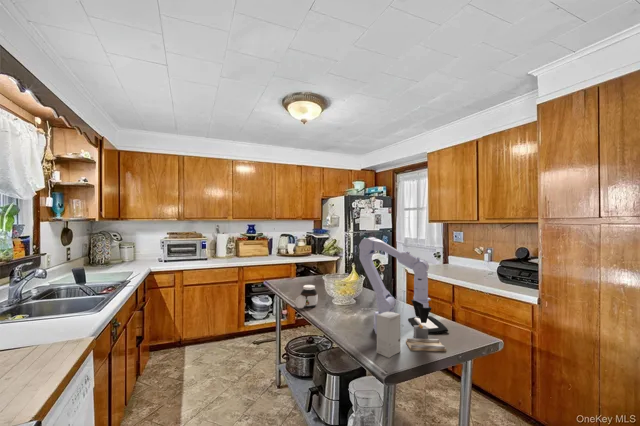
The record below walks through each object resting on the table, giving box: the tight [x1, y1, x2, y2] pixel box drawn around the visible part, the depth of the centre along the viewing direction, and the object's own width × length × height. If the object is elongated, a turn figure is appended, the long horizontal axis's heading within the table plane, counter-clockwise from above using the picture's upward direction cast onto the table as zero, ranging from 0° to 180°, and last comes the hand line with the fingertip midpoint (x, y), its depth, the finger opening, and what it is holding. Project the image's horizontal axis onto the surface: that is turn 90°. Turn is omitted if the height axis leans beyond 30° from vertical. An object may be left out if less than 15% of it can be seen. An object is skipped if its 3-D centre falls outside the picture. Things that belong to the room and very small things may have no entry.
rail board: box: [405, 337, 447, 352], centre depth 118 cm, size 14×7×2 cm, turn 87°
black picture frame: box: [407, 315, 449, 335], centre depth 141 cm, size 20×3×14 cm
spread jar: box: [295, 284, 319, 309], centre depth 170 cm, size 12×11×12 cm
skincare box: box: [376, 311, 401, 359], centre depth 113 cm, size 8×6×15 cm
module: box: [413, 325, 429, 339], centre depth 126 cm, size 5×4×6 cm
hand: (420, 319), depth 126 cm, fingers open, 7 cm apart
